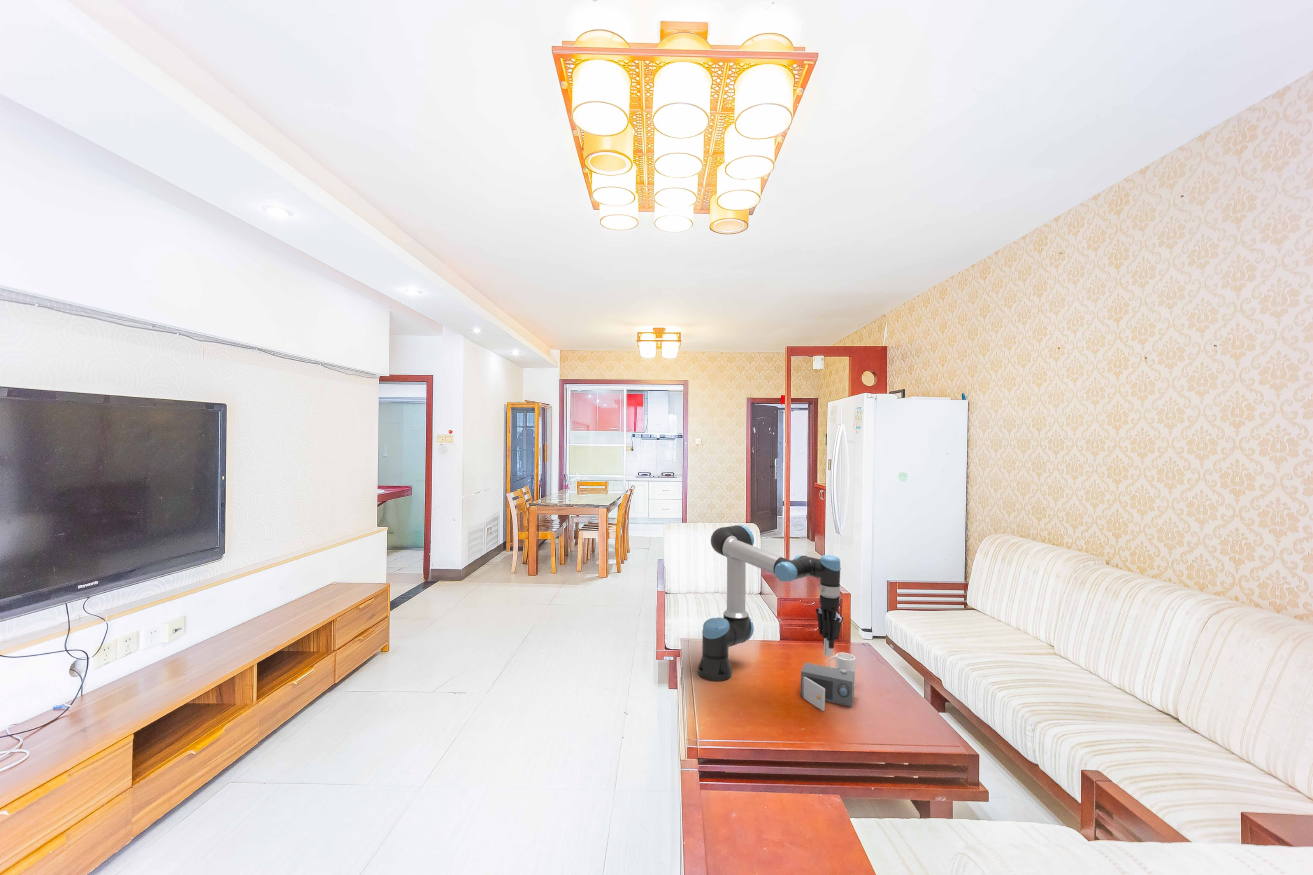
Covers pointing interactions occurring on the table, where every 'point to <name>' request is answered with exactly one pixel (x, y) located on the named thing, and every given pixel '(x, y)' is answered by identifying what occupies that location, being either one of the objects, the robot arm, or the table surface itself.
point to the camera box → (831, 682)
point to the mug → (845, 662)
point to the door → (813, 693)
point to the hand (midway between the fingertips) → (828, 654)
